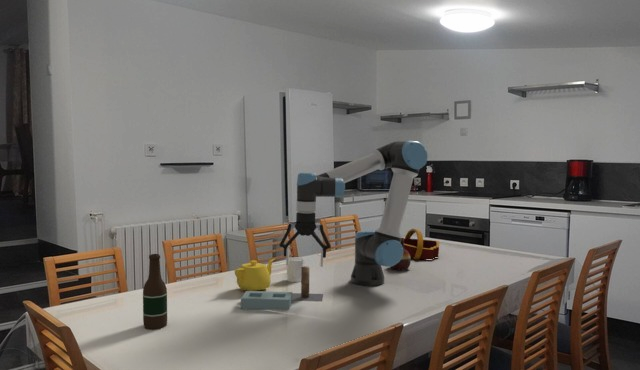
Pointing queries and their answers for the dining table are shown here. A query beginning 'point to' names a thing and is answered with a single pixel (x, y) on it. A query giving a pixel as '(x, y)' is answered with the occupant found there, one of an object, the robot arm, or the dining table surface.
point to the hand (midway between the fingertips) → (304, 265)
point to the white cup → (294, 269)
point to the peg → (305, 282)
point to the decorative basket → (420, 246)
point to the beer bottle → (154, 297)
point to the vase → (403, 259)
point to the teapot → (254, 276)
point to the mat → (311, 298)
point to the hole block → (266, 300)
